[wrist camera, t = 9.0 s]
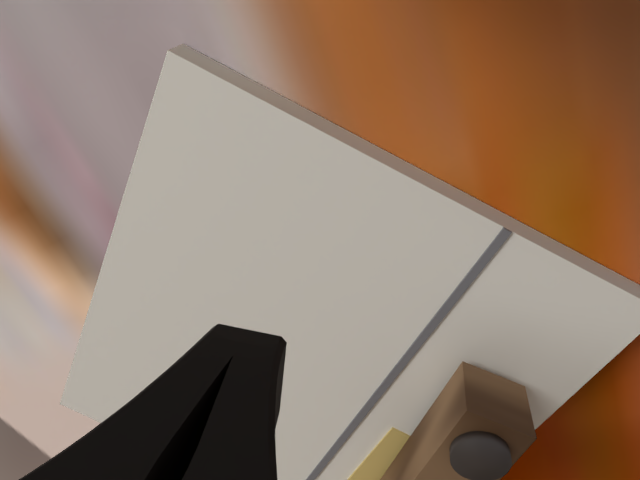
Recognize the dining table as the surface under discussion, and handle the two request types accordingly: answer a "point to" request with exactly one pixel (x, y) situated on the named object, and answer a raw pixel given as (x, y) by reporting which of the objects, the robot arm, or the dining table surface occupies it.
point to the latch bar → (468, 431)
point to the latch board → (329, 276)
